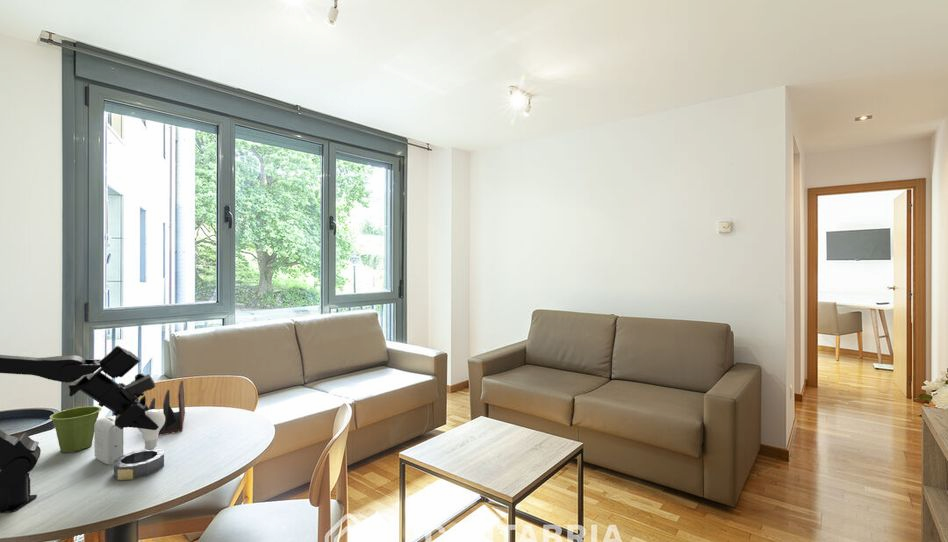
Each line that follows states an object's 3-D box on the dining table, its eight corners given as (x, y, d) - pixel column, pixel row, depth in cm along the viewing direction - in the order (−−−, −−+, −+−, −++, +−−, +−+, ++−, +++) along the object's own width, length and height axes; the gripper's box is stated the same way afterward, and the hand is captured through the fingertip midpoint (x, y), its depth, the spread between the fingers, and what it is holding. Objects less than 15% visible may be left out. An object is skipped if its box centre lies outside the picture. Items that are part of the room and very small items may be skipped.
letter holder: (185, 413, 165) (184, 377, 165) (182, 431, 148) (182, 390, 148) (152, 418, 160) (152, 381, 160) (146, 437, 143) (145, 395, 143)
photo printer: (126, 460, 127) (125, 418, 126) (108, 466, 123) (107, 423, 123) (110, 452, 132) (109, 412, 131) (92, 458, 128) (91, 416, 128)
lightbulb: (140, 446, 121) (140, 407, 121) (167, 443, 124) (167, 405, 124) (132, 455, 116) (133, 414, 116) (161, 452, 118) (162, 412, 118)
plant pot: (105, 447, 135) (104, 411, 135) (52, 460, 127) (51, 422, 126) (98, 436, 143) (98, 403, 143) (48, 448, 134) (47, 412, 134)
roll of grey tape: (148, 479, 116) (147, 466, 116) (102, 482, 114) (101, 469, 114) (171, 459, 128) (171, 447, 128) (130, 461, 126) (129, 449, 126)
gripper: (132, 374, 110) (184, 410, 116) (134, 360, 125) (180, 392, 131) (90, 411, 105) (147, 446, 112) (98, 392, 120) (147, 423, 127)
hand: (157, 424), depth 121 cm, fingers closed on lightbulb, 6 cm apart
